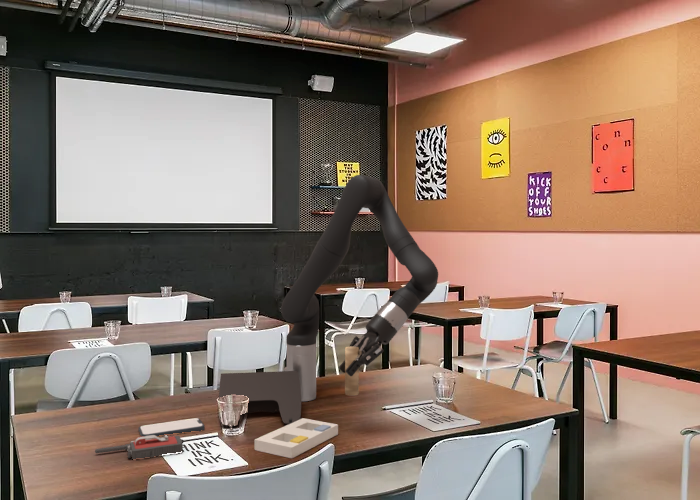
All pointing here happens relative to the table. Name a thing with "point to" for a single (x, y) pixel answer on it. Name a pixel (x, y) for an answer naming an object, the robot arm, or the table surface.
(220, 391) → the portable electronic device stand
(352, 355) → the dowel
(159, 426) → the phone case
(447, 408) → the table surface
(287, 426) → the socket plate
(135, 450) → the walkie-talkie
